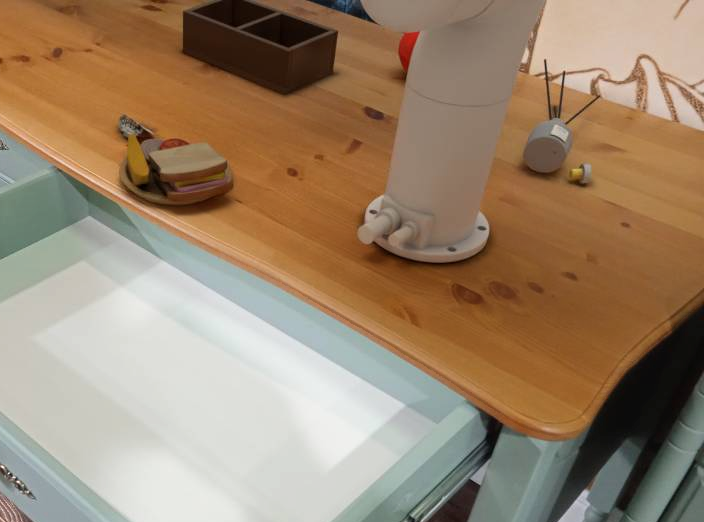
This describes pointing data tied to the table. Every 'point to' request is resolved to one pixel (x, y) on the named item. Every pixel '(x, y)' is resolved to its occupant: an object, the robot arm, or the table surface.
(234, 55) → the divided wooden box
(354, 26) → the table surface
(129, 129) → the silver ridged wedge
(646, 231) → the table surface
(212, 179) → the toy sandwich meal
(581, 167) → the reed diffuser
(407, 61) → the apple
